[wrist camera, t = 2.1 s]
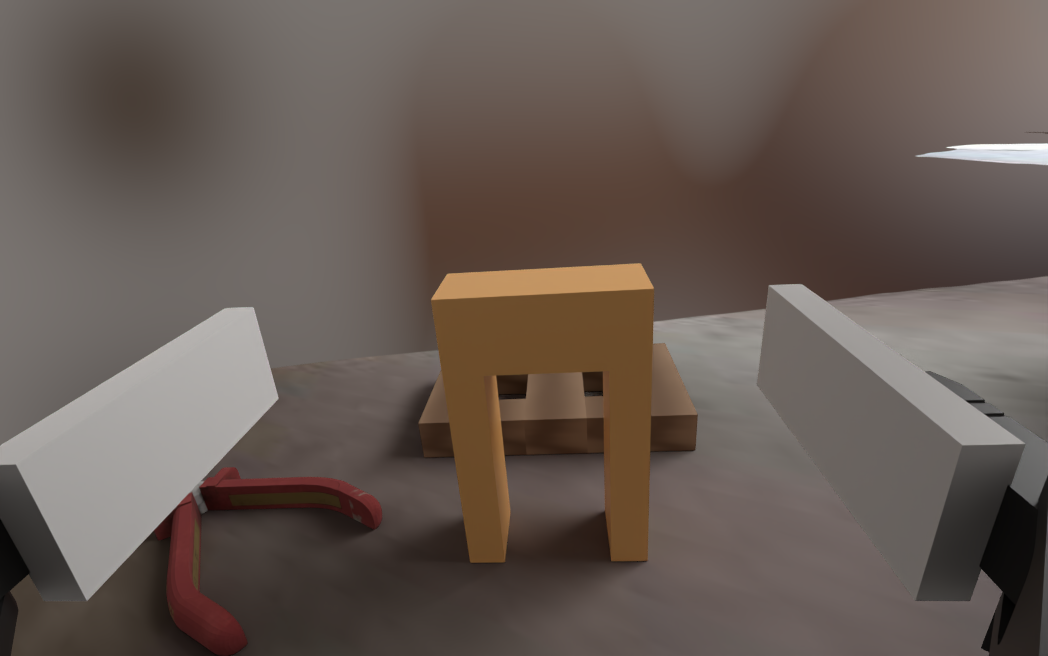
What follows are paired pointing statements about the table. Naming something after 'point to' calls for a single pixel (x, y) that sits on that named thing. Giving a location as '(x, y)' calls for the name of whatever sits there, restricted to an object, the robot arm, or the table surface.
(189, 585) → the pliers
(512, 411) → the wooden slotted board
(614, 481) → the orange arch-shaped block
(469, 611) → the table surface
